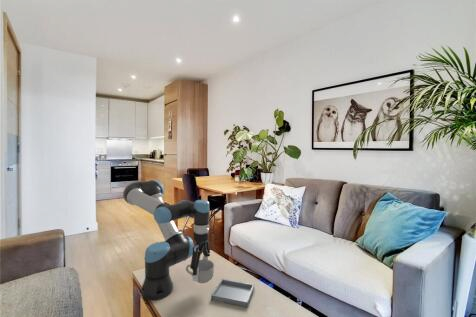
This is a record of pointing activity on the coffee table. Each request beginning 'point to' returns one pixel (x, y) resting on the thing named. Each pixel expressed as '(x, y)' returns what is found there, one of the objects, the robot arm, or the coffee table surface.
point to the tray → (233, 292)
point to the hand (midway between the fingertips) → (200, 274)
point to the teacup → (203, 271)
